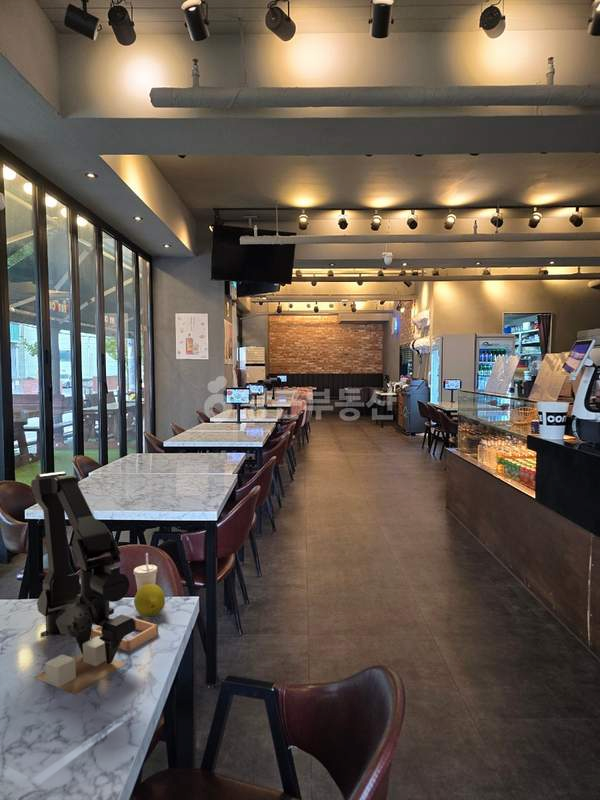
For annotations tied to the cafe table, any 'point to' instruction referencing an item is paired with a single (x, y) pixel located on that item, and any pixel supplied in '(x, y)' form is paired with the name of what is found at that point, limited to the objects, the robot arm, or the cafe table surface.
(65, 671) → the stone
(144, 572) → the smoothie
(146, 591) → the lemon
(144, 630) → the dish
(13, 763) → the cafe table surface
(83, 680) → the board
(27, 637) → the cafe table surface
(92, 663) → the cream cube
